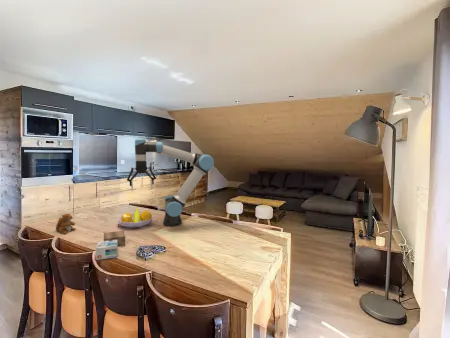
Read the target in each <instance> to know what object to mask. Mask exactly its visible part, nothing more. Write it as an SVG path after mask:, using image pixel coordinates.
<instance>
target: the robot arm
mask: <svg viewBox="0 0 450 338" xmlns="http://www.w3.org/2000/svg"><path fill="white" fill-rule="evenodd" d="M147 153H157V154H160V155H163V156H167V157H170V158H172V159H173V158H174V159H178V160H180V161H185V162H188V163H190V164H191V165H193V170H192V171H191V173H190V174H189V175H188V177H187V178H186V179H185V181H184V183H183V184H182V185H181V187H180V188H179V189H178V191H177V193H176V194H173V195H167V196H165V197H164V217H163V220H162V225H163V226H165V227H178V226H180V225H182V224H183V220H182V217H181V214H182V212H183V209H184V207H185V205H186V204H187V202H186V201H187V199H188V197H189V196H190V195H191V193H193V191H194V189H195V187H197V185H198V184H199V182H200V180H201V179H202V177H203V176H205V175H208V173H209V171H210V170H211V169H213V167H214V165H215V161H214V160H215V159H214V158H213V157H212V156H211V155H209V154H206V153H205V154H203V153H196V152H189V151H185V150H182V149H179V148H176V147H172V146H169V145H166V144H164V143H163V142H162V141H147V140H146V138H136V139H135V140H134V154H135V156H134V159H135V167H130V172H129V174H128V176H127V178H126V181H127V182H129V187H130V189H131V190H130V191H134V182H133V180H134V179H135V178H136V176H137V175H138V174H146V176H147V177H149V179H150V181H149V182H150V190H153V187H154V186H153V185H154V184H155V180H156V179H157V177H156V175H155V173H154V172H153V170H152V167H151V166H147V164H148V163H147ZM148 170H149V172H150V173H149V172H148ZM134 171H135V173H134V174H133V172H134ZM132 174H133V175H132ZM150 174H151V175H152V176H151V175H150Z"/></svg>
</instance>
